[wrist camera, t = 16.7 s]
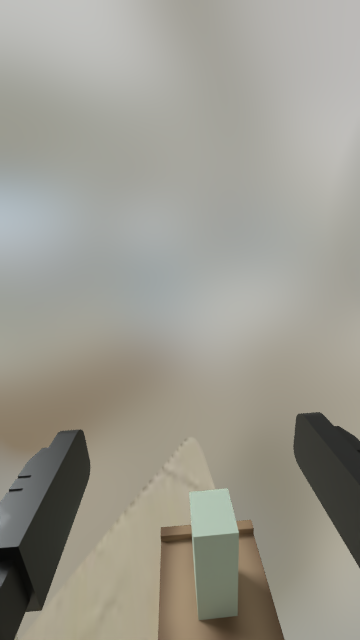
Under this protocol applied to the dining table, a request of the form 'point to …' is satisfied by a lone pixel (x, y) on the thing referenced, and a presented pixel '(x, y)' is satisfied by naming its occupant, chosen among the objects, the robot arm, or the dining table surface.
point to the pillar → (215, 553)
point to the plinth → (181, 603)
